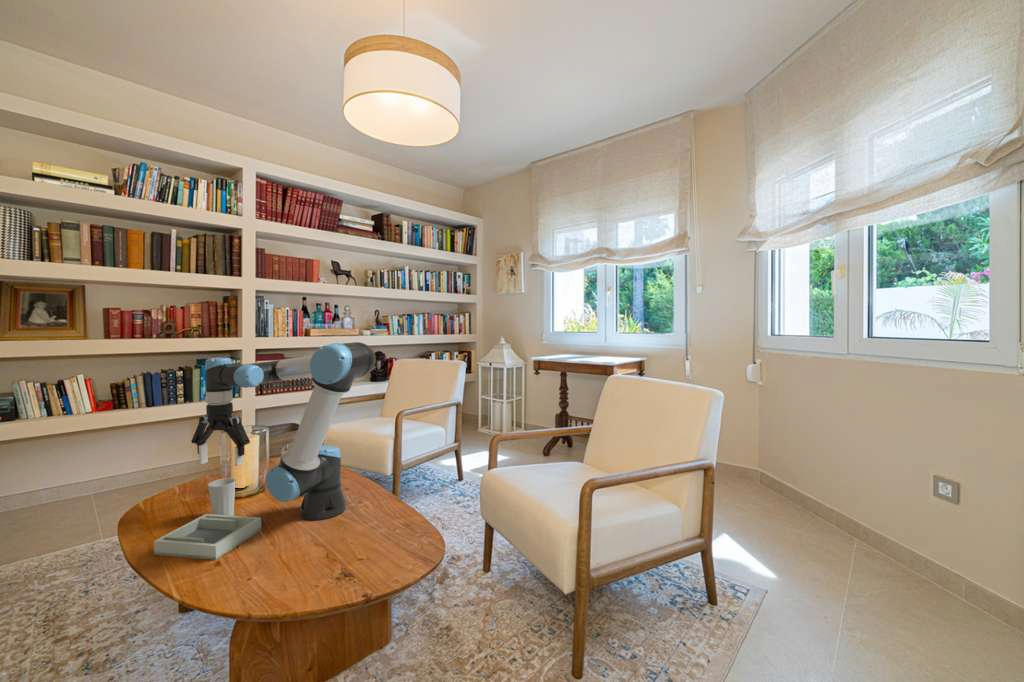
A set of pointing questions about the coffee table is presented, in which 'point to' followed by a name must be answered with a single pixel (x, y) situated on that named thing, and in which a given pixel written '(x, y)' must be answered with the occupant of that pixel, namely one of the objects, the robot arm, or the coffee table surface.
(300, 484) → the robot arm
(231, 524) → the box
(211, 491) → the cup
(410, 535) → the coffee table surface
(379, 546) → the coffee table surface
